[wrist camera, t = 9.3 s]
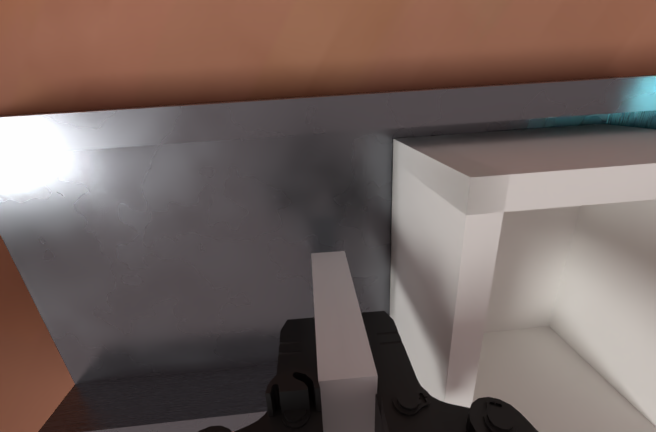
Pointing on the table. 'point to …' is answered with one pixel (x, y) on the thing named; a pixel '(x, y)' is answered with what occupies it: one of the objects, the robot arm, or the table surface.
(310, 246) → the bay
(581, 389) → the crate
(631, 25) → the table surface
